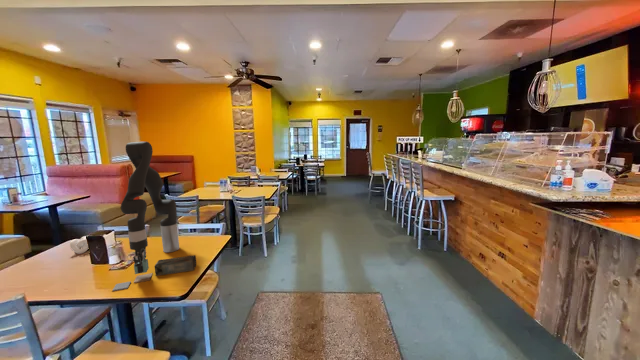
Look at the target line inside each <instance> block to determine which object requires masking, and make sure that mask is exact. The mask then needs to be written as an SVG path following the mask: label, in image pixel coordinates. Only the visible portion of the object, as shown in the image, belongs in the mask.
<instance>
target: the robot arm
mask: <svg viewBox="0 0 640 360" xmlns="http://www.w3.org/2000/svg"><path fill="white" fill-rule="evenodd" d="M125 152H126V155H127V157H128V159H129V160H130V162H131V163H132V164H133V166H134V168H135V170H134V171H133V172H132V174H131V175H130V177H129V178H128V184H127V189H126V193H125V196H124V198H123V199H122V201H121V204H120V211H121V213H122V214H124V215H135V214H137V216H136V217H131V218H129V219H128V220H127V231H128V242H129V243H128V244H129V249H130V250H131V251H134V253H133V255H134V256H133V257H132V259H133V262H134V264H135V267H137V269H138V273H139V274H144V273H143V260H144V259H147V247H148V246H149V244H148V236H147V230H146V224H145V223H146V222H145V219H146V211H147V207H148V204H147V201H146V200H145V199H143V198H138V197H141V196H143V195H145V188H146V190H147V193H148V195H149V198H150V199H151V203H152V204H153V208H154V210H155V212H156V213H157V214H158V215H168V216H167V217H166V218H162V219H161V220H160V222H159V223H160V224H159V225H160V233H161V243H162V249H163V252H164V253H173V252H177V251H178V250H180V242H179V241H180V240H179V232H178V231H179V230H178V221H177V219H178V214H177V211H178V210H177V203H176V201H175V199H172V198H171V199H162V197H161V195H160V194H161V191H162V189H163V187H164V182H163V179H162V178H161V175H160V173H159V172H158V171H157V170H156V169H154V168H152V166H150V165H151V160H152V157H153V145H152V144H151V143H150V142H149V141H134V142H133V141H132V142H127V143H126V144H125ZM135 198H137V199H135ZM138 263H140V264H138Z"/></svg>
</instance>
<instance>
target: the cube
mask: <svg viewBox="0 0 640 360" xmlns="http://www.w3.org/2000/svg"><path fill="white" fill-rule="evenodd" d="M138 264H140V263H138ZM133 268H134V269H133V270H134V275H140V273H138V269H137V267H135V263H134V264H133ZM149 268H150V267H149V260H148V258H145V259H144V260H143V273H142V274H144V273H145V274H146V273H147V272H148V270H149Z"/></svg>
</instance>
